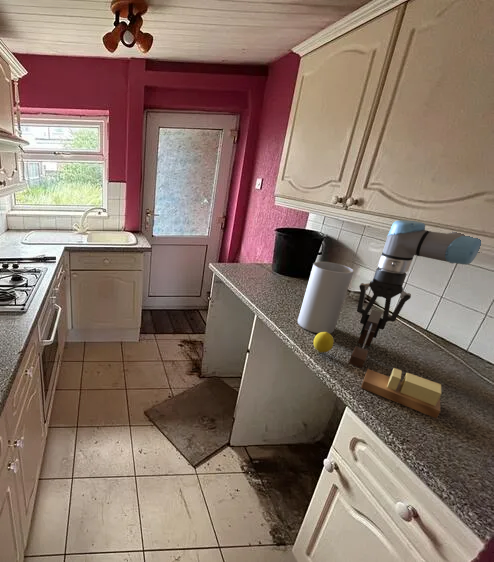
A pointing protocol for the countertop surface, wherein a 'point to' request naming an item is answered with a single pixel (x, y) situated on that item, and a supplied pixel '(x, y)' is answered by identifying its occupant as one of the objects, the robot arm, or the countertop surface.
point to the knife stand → (361, 349)
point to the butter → (421, 389)
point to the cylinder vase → (324, 296)
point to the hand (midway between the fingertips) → (368, 334)
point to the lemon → (323, 342)
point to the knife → (372, 323)
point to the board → (397, 394)
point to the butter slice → (394, 379)
